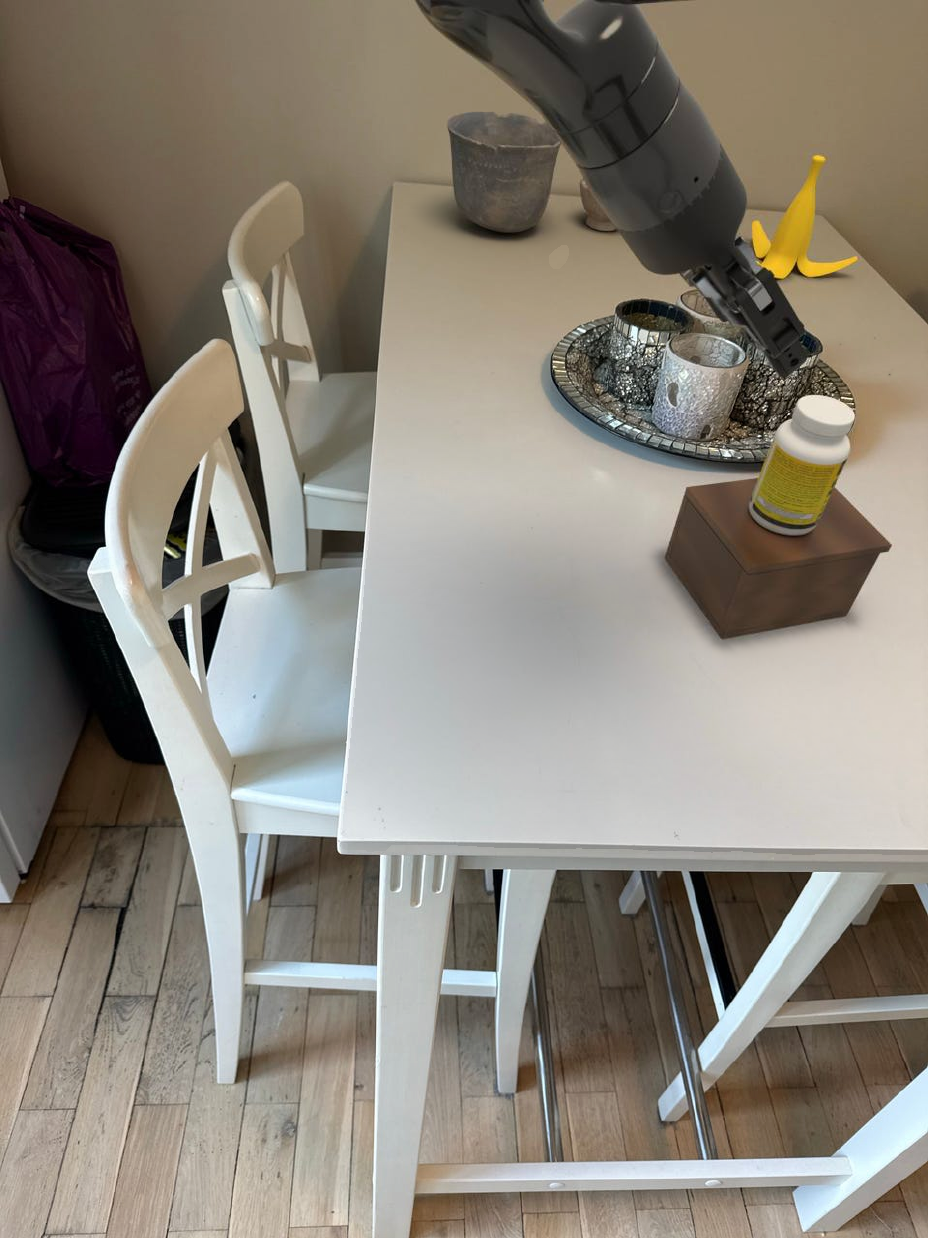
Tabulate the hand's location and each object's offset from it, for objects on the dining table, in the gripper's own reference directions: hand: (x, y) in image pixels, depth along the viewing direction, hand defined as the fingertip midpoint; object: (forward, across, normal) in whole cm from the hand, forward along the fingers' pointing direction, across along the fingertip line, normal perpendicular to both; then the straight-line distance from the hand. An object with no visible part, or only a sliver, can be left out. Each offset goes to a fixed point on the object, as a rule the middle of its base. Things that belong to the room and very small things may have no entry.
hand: (762, 338), depth 65 cm
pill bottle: (+19, 0, +7) cm, 20 cm away
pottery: (+46, +85, -8) cm, 97 cm away
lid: (+20, 0, +7) cm, 21 cm away
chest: (+25, 0, +12) cm, 28 cm away
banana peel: (+56, +67, -19) cm, 90 cm away
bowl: (+28, +89, +10) cm, 94 cm away
